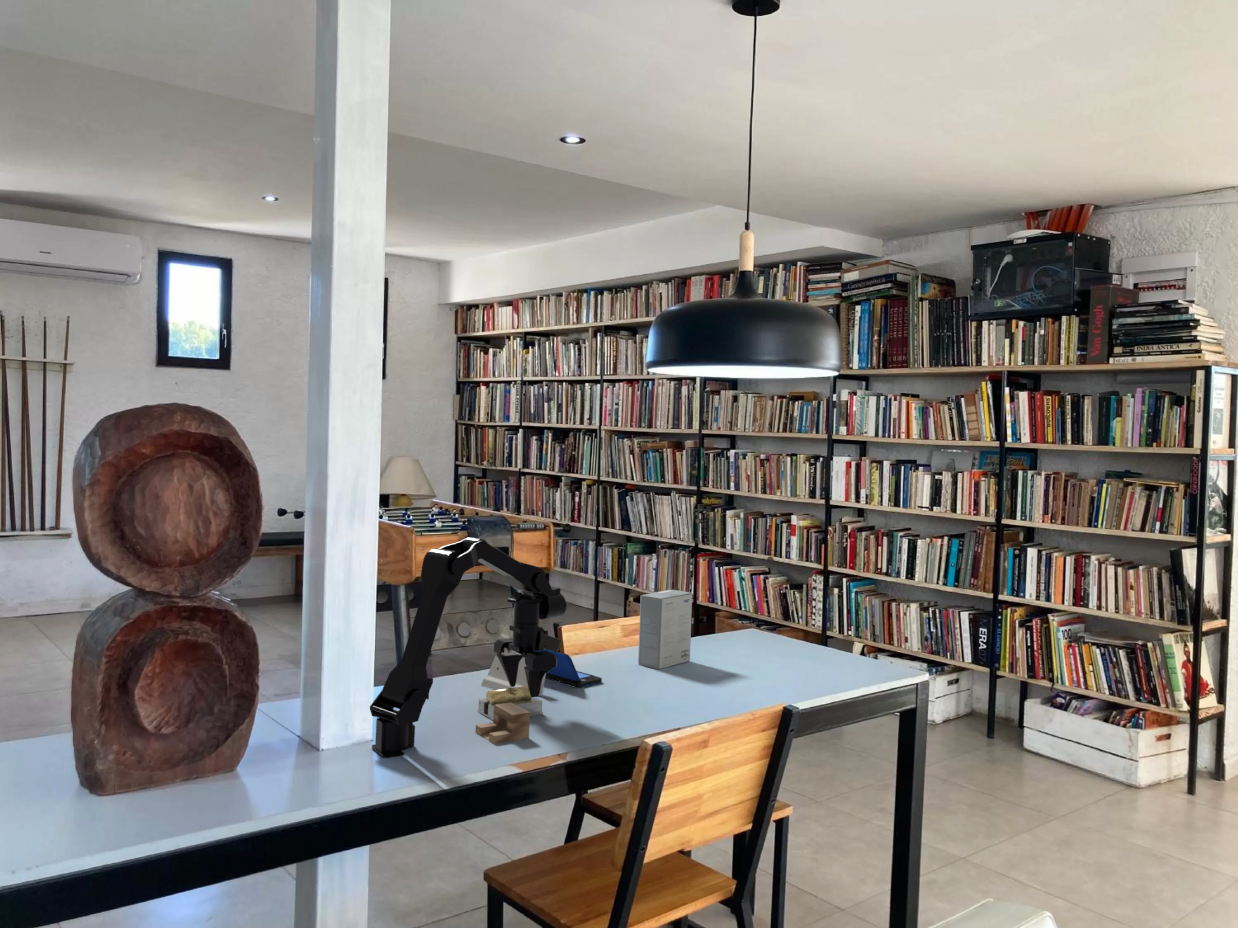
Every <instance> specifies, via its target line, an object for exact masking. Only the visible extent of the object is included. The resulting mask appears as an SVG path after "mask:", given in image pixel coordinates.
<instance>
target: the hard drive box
mask: <svg viewBox="0 0 1238 928" xmlns="http://www.w3.org/2000/svg"><path fill="white" fill-rule="evenodd" d="M639 600H640V602H639V605H640V608H639V627H638V628H639V630H638V631H639V633H638V657H637V659H638V660H637V664H638V666H642V667H647V668H651V669H656V670H661V669H665V668H668V667H672V666H677V665H680V664H683V663H687V662H690V661H691V641H692V637H691V636H692V615H693V614H692V612H693V610H692V608H693V606H692V605H693V593H692V592H690V591H683V590H678V589H677V590H676V589H668V590H662V591H657V592H651V593H646V594H645V593H644V594H642V595H641V594H640V599H639Z"/></svg>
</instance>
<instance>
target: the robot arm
mask: <svg viewBox="0 0 1238 928" xmlns="http://www.w3.org/2000/svg"><path fill="white" fill-rule="evenodd" d="M478 562H479V563H480V564H482V565H484V566H485V567H487V568H489V569H491V570H493V571H495V572H497V573H498V574H500V575H502V576H503V578H504V579H505V581H506V583H507V584H508V585H510V586H511V587H512V588H513V589H514V590H517V591H514V592H513V594H512V595H510V596H509V597H508V598H507V600H506V601H507V603H511V604H514V605H513V621H512V624H510V625H509V628H508V629H509V630H510V631H512V638H509V637H508V638H501V639H497V640H496V641H495V642H494V643H493V652H494V653H495V654H496V655H497V657H498V658H499V661H500V663H501V665H502V667H503V669H504V672H505V674H506V677H507V679H508V682H509V684H510V686H511V687H514V686H515V685H516V680H517V673H518V666H519V662H520V660H521V659H522V658H523V657H524V658H525V664H526V666H527V667H524V669H525V674H526V678H527V683H528V688H529V692H530V695H531V697H532V698H534V697H535V698H536V696H537V695H536V694H537V692H538V689H539V686H540V684H541V681H542V679H543V677H544V675H545V673H546V672H548V671H549V670H552V669H553V667H557V657H556V656H555V655H554V654H553V653H550V652H548V651H544V649H547V650H550V651H553V652H554V653H558V652H559V649H560V647H561V643H562V641H563V640H562V639H560V638H557V637H554V636H552V635H549V631H548V630H547V629H545V628H543V627H542V626H540V620H546V619H553V618H559V617H563V616H564V614H565V613H566V611H567V605H568V603H567V601H566V598H565V596H564V595H563V594H562V593H561V590H562V588H559V587H555V586H554V587H552V586H551V584H550V583H549V580H548V578H547V576H546V574H547V573H546V571H545V569H544V568H542V567H539V566H536V565H532V564H529V563H525V562H521V561H518V560H517V559H515V558H513V556H511V555H508V554H507V553H505V552H503V551H502V550H500V549H498V548H496V547H495V546H493V545H492V544H490V543H488V542H487V541H486V540H485V539H483V538H478V537H471V536H469V537H466V538H463V539H462V540H459V541H457V542H453V543H450V544H446V545H443V546H441V547H439V548H432V549H431V550H429V551H427V552H426V553H425V555H424V557H423V560H422V565H421V566H422V567H421V572H420V577H421V582H422V589H423V590H422V592H421V593H422V594H421V597H420V599H419V602H418V606H417V610H416V613H415V616H414V619H413V622H412V626H411V629H410V632H409V636H408V638H407V641H406V645H405V648H404V651H403V654H402V658H401V660H400V662H398V663H397V664H396V666H394V668H393V669H392V670H391V671H390V672H389V673H388V676H387V679H386V680H385V682H384V685H383V687H382V690H381V691H380V692H379V694H378V695H377V696H376V697H375V698H374V700H373V702H372V703H371V704H370V705H369V712H370V715H371V717H374V718H376V723H375V744H372V745H371V749H372V750H374V752H376V753H378V754H379V755H380V756H381V757H383V758H388V757H393V756H400V755H405V754H406V753H405V752H404V751H406V750H407V749H410V748H412V747H414V746H415V737H416V726H415V724H414V723H416V722H418V721H419V720H420V716H421V714H422V713H421V712H422V709H423V707H424V705H425V703H426V701H427V700H429V699H430V691H431V688H432V686H433V683H434V678H433V677H429V676H428V672H427V671H428V670H427V665H428V662H429V658H430V655H431V653H432V648H433V645H434V643H435V640H436V639H435V638H436V636H437V632H438V629H439V626H440V621H441V620H442V616H443V612H444V608H445V606H446V602H447V599H448V597H449V596H450V594H451V593H453V591H454V590H456V588H457V587H458V586H459V584H460V582H461V580H462V578H463V576H464V574H465V572H467V571H469V570H471V569H472V568H475V566H476V564H477V563H478ZM519 591H521V592H519ZM536 651H539V652H536ZM496 655H495V656H496ZM396 709H397V710H396Z"/></svg>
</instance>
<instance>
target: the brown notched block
mask: <svg viewBox="0 0 1238 928" xmlns="http://www.w3.org/2000/svg"><path fill="white" fill-rule="evenodd" d="M530 719H531V716H530V712H528V711H526V710H524V709H523V708H521V707H519V706H517V705H515V704H513V703H511V702H510V703H503V704H496V705H494V716H493V720H492V722H486V723H479V724H475V733H476V734H477V735H479V737H482V738H483V739H485V740H486V741H488V742H490V743H491V744H493V745H495V744H502V743H507V742H513V741H519V740H526V739H530V726H531V725H530V723H531V722H530Z"/></svg>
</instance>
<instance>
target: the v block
mask: <svg viewBox="0 0 1238 928" xmlns="http://www.w3.org/2000/svg"><path fill="white" fill-rule="evenodd" d="M504 703H510V702H504ZM511 703H513V704H515V705H517V706H519V707H521V708H523V709H524V710H526V711H528V712H530V717H534V716H541V715H543V713H544V712H543V700H542V699H539V698H537V697H535V698H534V697H532V698H531V699H526V700H519V701H511ZM496 704H503V703H496ZM496 704H488V703H487V700H486V697H485V698H478V707H477V708H478V709H477V712H478V713H479V714H480V715H482V716H484V717H486V718H487V719H489V720H491V721H493V716H494V705H496Z"/></svg>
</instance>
